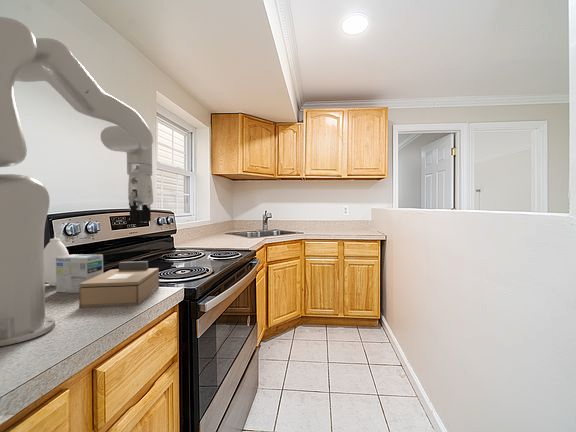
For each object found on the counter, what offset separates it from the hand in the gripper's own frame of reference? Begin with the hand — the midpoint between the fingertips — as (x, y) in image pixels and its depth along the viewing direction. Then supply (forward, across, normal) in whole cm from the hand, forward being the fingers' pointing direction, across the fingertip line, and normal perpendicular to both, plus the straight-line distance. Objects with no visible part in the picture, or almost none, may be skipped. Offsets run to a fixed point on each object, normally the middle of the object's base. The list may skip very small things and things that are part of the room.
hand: (140, 222), depth 97 cm
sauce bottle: (+21, +1, +27) cm, 34 cm away
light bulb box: (+21, -6, +16) cm, 27 cm away
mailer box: (+21, -15, 0) cm, 25 cm away
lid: (+15, -15, 0) cm, 21 cm away
